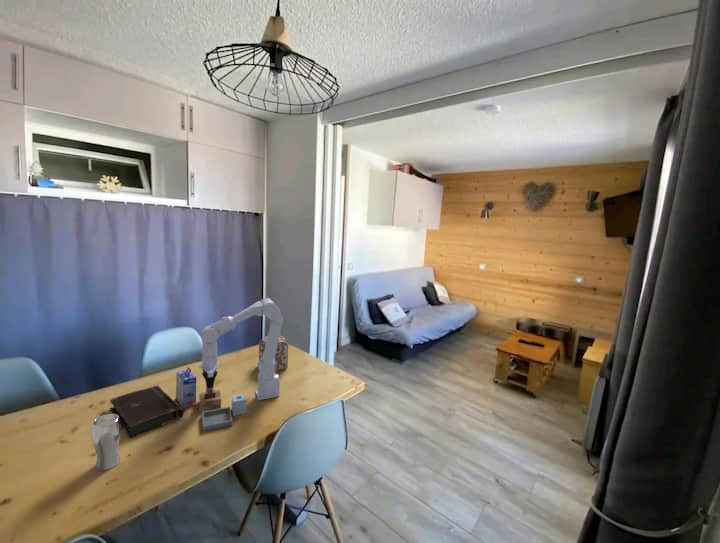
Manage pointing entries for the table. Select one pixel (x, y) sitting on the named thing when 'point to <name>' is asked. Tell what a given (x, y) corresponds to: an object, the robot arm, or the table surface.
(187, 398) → the ink cartridge box
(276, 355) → the decorative jar
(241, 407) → the block
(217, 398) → the bore block
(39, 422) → the table surface
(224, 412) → the tray
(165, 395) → the diary
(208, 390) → the cylinder
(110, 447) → the beer glass
